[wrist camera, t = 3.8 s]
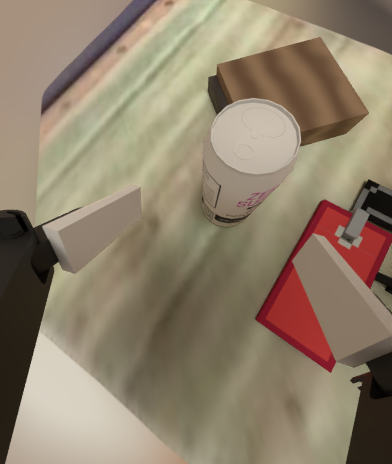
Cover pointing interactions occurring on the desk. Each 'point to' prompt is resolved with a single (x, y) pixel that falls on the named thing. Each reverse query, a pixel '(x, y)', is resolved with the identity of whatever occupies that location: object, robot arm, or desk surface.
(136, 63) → the desk surface
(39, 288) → the robot arm
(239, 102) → the supplement can
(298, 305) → the red board with handle
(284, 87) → the brown flat block
